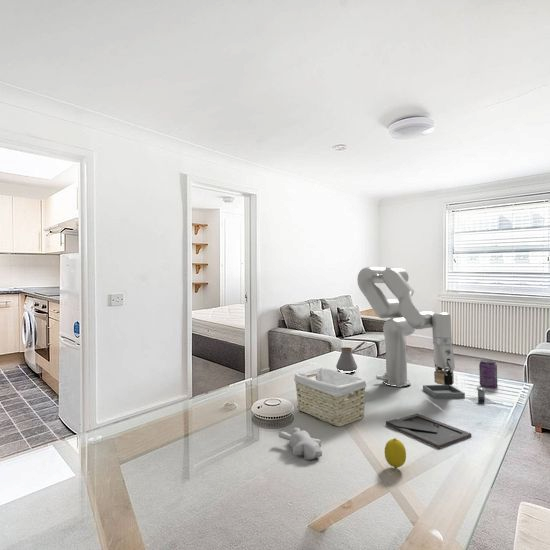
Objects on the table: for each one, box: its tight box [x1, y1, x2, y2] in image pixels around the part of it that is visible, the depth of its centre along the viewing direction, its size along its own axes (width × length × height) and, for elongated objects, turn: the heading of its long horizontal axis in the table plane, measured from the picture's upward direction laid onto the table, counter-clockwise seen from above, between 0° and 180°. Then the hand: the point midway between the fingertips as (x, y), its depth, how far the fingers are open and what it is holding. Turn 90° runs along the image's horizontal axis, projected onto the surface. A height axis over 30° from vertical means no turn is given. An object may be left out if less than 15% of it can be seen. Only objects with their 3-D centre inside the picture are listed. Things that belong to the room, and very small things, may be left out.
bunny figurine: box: [278, 427, 323, 461], centre depth 111 cm, size 10×5×15 cm
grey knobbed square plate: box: [467, 386, 498, 405], centre depth 151 cm, size 8×8×6 cm
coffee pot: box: [335, 341, 368, 371], centre depth 206 cm, size 21×12×15 cm, turn 125°
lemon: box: [384, 437, 407, 469], centre depth 100 cm, size 6×6×8 cm
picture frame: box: [385, 413, 472, 450], centre depth 123 cm, size 16×2×21 cm
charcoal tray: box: [422, 384, 466, 400], centre depth 161 cm, size 12×12×2 cm
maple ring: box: [433, 369, 455, 385], centre depth 160 cm, size 7×7×4 cm
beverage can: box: [478, 358, 498, 389], centre depth 171 cm, size 7×7×12 cm
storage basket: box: [293, 367, 367, 427], centre depth 140 cm, size 24×16×15 cm
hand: (444, 382), depth 160 cm, fingers closed on maple ring, 7 cm apart
